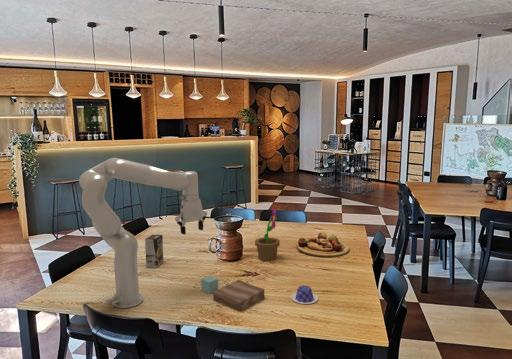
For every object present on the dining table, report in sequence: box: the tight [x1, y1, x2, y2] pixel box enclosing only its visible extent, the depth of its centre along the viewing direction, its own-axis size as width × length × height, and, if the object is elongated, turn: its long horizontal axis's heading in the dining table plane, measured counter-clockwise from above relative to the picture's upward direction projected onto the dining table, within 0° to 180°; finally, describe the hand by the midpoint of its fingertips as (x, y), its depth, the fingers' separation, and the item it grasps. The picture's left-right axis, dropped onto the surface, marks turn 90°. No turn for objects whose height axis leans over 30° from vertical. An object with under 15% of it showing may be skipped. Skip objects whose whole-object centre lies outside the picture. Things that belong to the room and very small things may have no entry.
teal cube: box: [200, 275, 219, 294], centre depth 177 cm, size 6×6×6 cm
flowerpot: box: [254, 208, 280, 262], centre depth 215 cm, size 14×14×30 cm
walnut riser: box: [212, 279, 265, 312], centre depth 168 cm, size 16×16×4 cm
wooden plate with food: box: [295, 231, 350, 259], centre depth 232 cm, size 32×32×8 cm
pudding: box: [290, 285, 319, 305], centre depth 167 cm, size 12×12×5 cm
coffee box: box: [144, 234, 165, 269], centre depth 208 cm, size 9×6×16 cm
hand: (192, 231), depth 183 cm, fingers open, 9 cm apart
